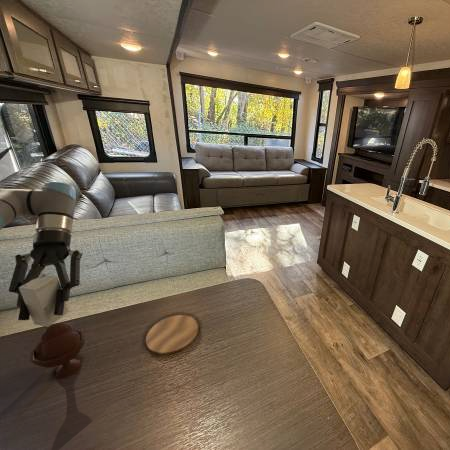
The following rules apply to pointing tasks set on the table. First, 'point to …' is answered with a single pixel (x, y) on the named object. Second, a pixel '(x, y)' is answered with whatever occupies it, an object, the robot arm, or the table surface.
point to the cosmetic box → (42, 299)
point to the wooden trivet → (172, 334)
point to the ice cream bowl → (59, 349)
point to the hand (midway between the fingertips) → (41, 317)
